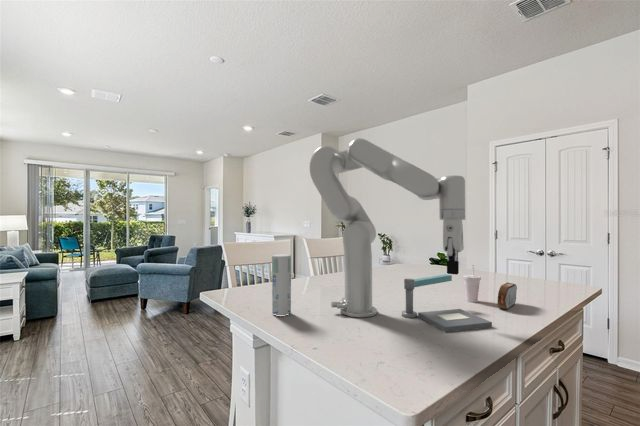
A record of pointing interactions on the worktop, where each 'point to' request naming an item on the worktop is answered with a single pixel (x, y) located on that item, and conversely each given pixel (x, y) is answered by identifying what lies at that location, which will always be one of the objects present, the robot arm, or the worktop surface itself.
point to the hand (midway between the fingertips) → (452, 273)
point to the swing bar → (426, 281)
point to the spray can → (281, 284)
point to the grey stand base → (446, 317)
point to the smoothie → (472, 286)
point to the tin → (507, 295)
